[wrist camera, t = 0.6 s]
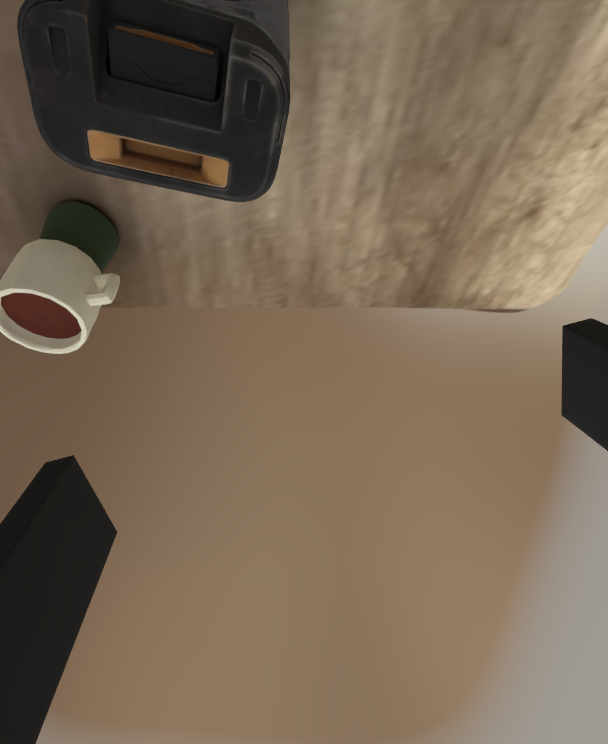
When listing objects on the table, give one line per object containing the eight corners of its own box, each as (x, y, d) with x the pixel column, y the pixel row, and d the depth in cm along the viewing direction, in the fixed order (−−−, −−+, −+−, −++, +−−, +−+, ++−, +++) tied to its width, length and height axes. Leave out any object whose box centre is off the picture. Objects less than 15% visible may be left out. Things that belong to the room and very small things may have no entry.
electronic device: (292, -43, 28) (300, 61, 15) (274, 64, 32) (268, 214, 20) (138, -95, 26) (-1, -25, 13) (141, 28, 30) (40, 167, 18)
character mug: (52, 264, 45) (1, 360, 37) (8, 200, 40) (-63, 296, 32) (155, 252, 44) (126, 348, 36) (125, 186, 39) (83, 280, 31)
